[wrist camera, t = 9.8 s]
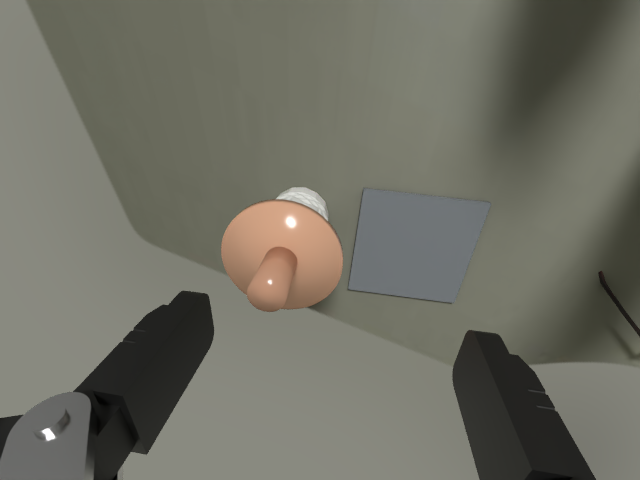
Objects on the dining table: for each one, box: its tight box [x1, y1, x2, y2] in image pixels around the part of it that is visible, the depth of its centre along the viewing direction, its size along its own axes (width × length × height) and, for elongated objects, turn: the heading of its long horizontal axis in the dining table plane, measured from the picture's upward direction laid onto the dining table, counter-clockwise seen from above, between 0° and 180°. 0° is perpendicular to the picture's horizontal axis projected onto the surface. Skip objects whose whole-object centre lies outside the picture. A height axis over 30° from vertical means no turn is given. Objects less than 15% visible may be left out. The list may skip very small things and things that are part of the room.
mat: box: [348, 188, 491, 303], centre depth 37 cm, size 14×14×1 cm
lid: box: [221, 199, 343, 312], centre depth 25 cm, size 11×11×6 cm
